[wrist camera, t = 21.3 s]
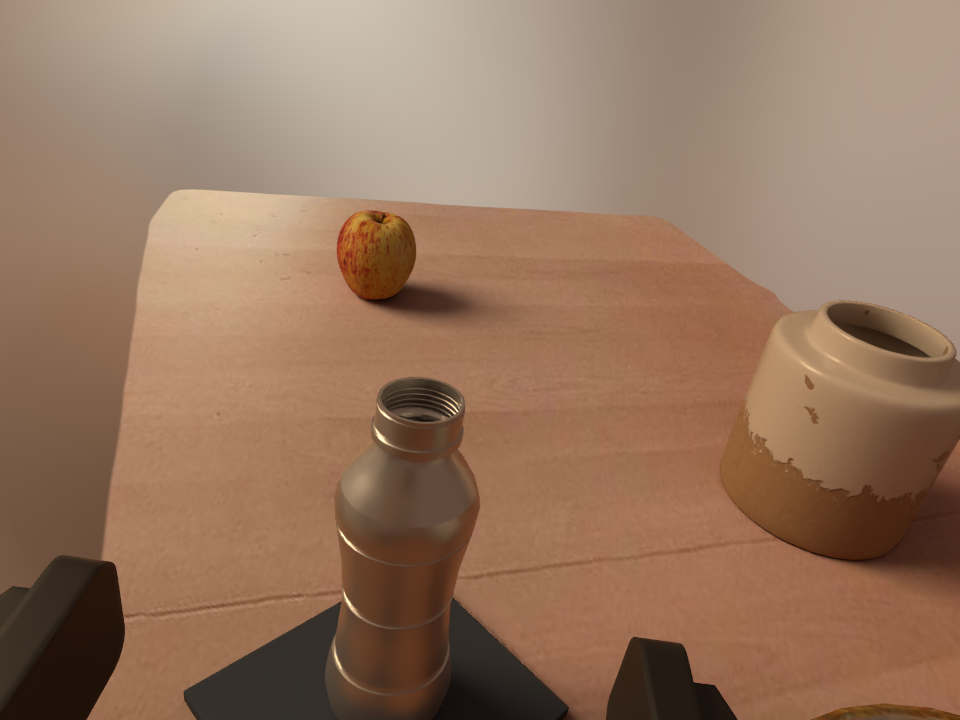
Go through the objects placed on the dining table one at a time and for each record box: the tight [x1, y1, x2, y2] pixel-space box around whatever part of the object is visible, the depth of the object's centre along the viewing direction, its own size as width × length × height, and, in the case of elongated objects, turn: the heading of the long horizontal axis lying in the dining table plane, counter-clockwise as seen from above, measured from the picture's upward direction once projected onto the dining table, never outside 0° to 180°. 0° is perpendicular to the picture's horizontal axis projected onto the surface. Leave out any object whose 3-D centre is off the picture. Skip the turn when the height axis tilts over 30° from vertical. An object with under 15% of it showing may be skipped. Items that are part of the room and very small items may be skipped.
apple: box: [337, 211, 416, 299], centre depth 84 cm, size 9×9×10 cm
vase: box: [720, 300, 960, 560], centre depth 59 cm, size 15×15×17 cm
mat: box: [184, 598, 569, 720], centre depth 41 cm, size 16×14×1 cm
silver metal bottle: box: [325, 377, 480, 720], centre depth 35 cm, size 6×7×20 cm
